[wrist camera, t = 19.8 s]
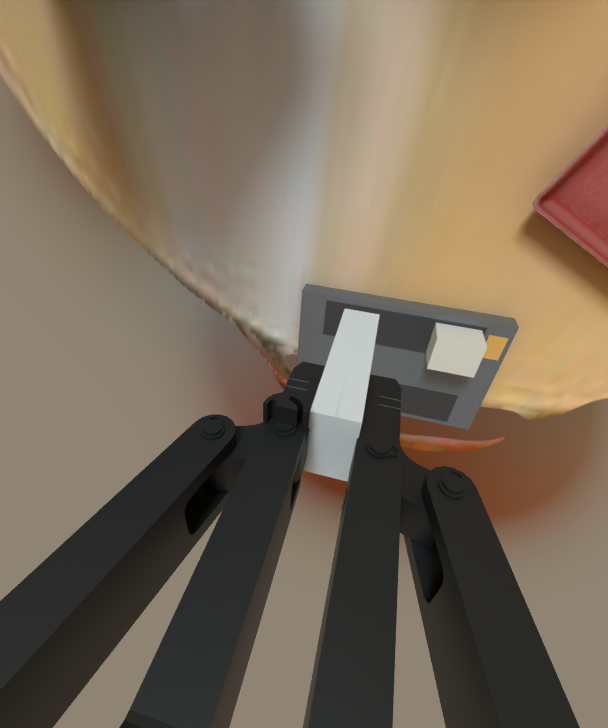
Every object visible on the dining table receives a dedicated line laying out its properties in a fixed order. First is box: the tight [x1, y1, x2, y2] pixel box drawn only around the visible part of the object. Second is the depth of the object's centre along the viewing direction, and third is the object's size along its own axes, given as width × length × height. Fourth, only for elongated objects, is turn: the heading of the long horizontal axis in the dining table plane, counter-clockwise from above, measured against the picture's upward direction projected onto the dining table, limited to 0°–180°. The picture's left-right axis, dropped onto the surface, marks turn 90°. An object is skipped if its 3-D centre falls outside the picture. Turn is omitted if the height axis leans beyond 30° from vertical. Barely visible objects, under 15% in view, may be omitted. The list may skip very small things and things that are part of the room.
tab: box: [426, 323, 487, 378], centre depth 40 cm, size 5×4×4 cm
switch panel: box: [297, 284, 519, 430], centre depth 46 cm, size 24×16×2 cm, turn 86°
